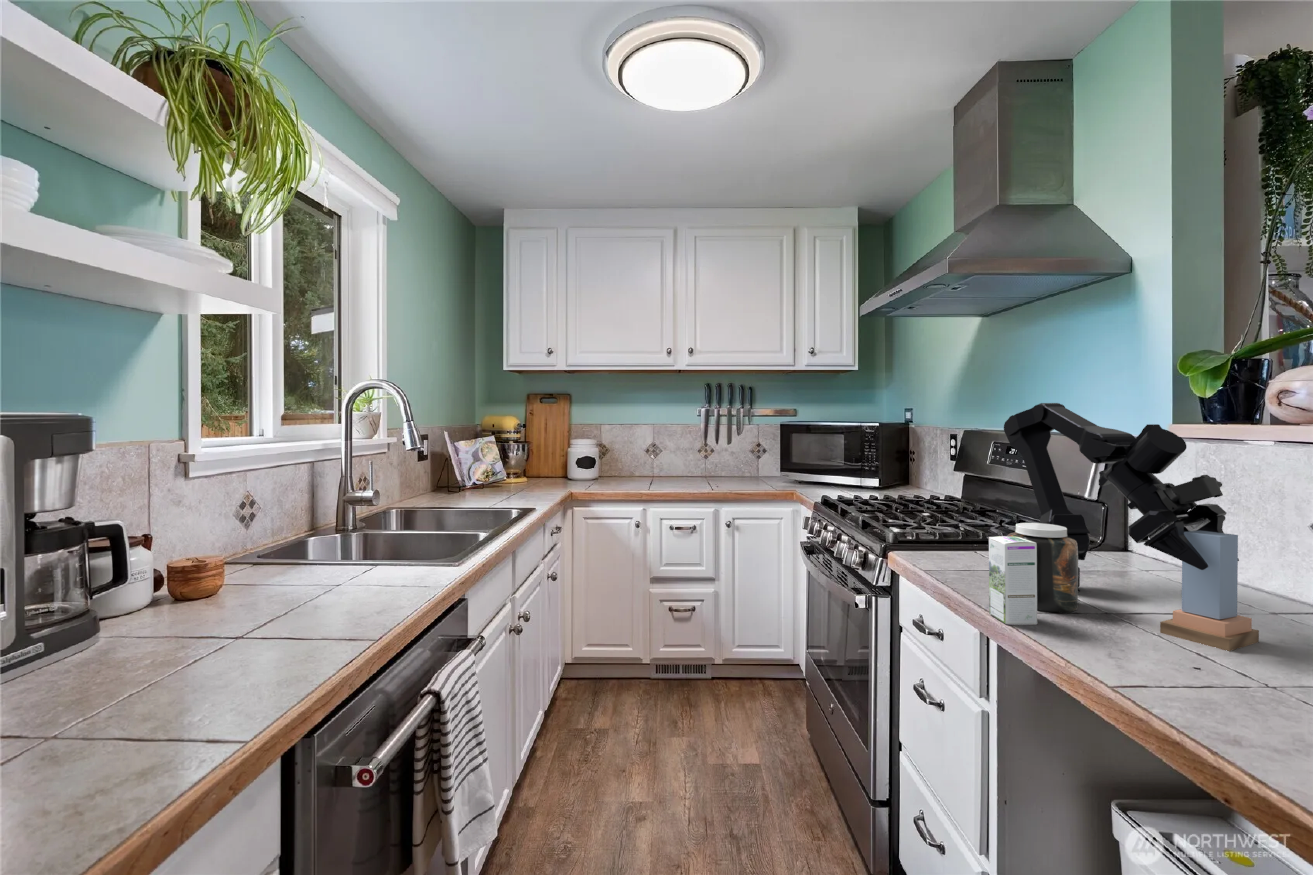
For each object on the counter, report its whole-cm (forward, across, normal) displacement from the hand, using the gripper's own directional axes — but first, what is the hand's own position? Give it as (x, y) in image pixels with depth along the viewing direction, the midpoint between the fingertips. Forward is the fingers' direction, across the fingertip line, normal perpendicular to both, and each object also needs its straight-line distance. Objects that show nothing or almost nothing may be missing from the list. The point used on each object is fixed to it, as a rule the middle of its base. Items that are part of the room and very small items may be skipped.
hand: (1221, 565), depth 97 cm
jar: (-9, -6, +26) cm, 29 cm away
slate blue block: (+5, 0, +7) cm, 8 cm away
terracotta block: (+6, 0, +8) cm, 10 cm away
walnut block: (+8, 0, +10) cm, 13 cm away
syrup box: (-6, -20, +24) cm, 32 cm away
